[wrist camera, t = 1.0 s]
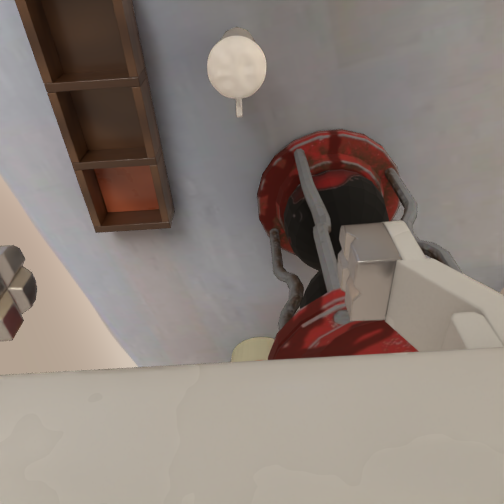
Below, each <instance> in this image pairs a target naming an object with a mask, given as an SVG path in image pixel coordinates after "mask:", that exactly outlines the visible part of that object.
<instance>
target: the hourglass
mask: <svg viewBox="0 0 504 504" xmlns="http://www.w3.org/2000/svg"><path fill="white" fill-rule="evenodd" d="M257 198H258V209H259V219H260V221H261V223H262V225H263V227H264V229H265V231H266V233H267V235H268V236H269V237H270V242H271V253H272V264H273V272H274V274H275V276H276V277H277V278H278V279H279V280H281V281H283V282H286V283H287V285H288V287H289V289H290V290H289V300H288V301H287V303H286V305H285V306H284V308H283V310H282V311H281V315H280V319H279V322H278V326H279V332H278V333H277V335H276V337H275V340H274V343H273V345H272V348H271V350H270V353H269V355H268V360H278V359H296V358H315V357H333V356H351V355H367V354H385V353H403V352H419V351H418V350H417V349H415V348H414V347H413V346H412V345H411V344H410V343H409V342H408V341H407V340H405V339H404V338H403V337H402V336H401V335H400V334H399V333H398V332H396V331H395V330H394V329H393V328H392V327H391V326H390V325H389V324H388V323H386V322H385V320H370V321H350V318H349V315H348V312H347V308H346V305H345V292H344V291H342V290H341V288H340V284H339V279H338V268H337V262H338V253H339V252H340V251H341V250H342V247H341V244H340V241H339V234H340V228H341V226H344V225H356V224H368V223H380V222H388V221H392V220H393V218H394V216H395V214H396V212H397V210H398V208H399V204H400V202H401V203H402V205H403V207H404V215H403V216H402V218H401V220H402V221H404V222H405V223H406V225H407V226H408V228H409V230H410V231H411V233H412V235H413V236H414V238H415V240H416V241H417V243H418V245H419V246H420V248H421V250H422V251H423V253H424V255H427V256H429V257H431V258H434V259H435V260H437V261H439V262H441V263H443V264H445V265H447V266H449V267H451V268H453V269H455V270H456V271H458V272H460V273H462V271H461V270H460V268H459V266H458V265H457V263H456V262H455V260H454V259H453V257H452V256H451V254H450V253H449V252H448V251H447V250H445V249H444V248H442V247H440V246H439V245H437V244H435V243H432V242H427V241H422V240H420V239H419V238H418V237H417V236H415V235H414V232H413V227H412V225H413V223H414V221H415V219H416V217H417V203H416V201H415V200H414V198H413V197H412V195H411V194H410V192H409V191H408V189H407V188H406V186H405V185H404V183H403V182H402V180H401V179H400V177H399V172H398V168H397V166H396V165H395V163H394V162H393V161H392V159H391V158H390V156H389V155H388V154H387V152H386V151H385V149H384V148H383V147H382V146H381V145H380V144H378V143H377V142H375V141H374V140H372V139H370V138H369V137H367V136H366V135H364V134H361V133H356V132H352V131H347V130H343V129H336V130H326V131H316V132H314V133H311V134H309V135H306V136H304V137H301V138H299V139H296V140H294V141H292V142H291V143H290V144H289V145H288V146H286V147H285V148H284V149H283V150H281V151H280V152H279V153H278V154H276V155H275V156H274V158H273V159H272V161H271V162H270V164H269V165H268V167H267V168H266V170H265V171H264V173H263V174H262V178H261V182H260V185H259V189H258V193H257ZM281 248H282V249H284V250H286V251H288V252H290V253H292V254H294V255H296V256H298V257H299V258H300V259H301V260H302V261H303V262H304V263H306V264H307V265H308V266H310V267H312V268H314V269H316V270H318V271H319V272H318V273H317V274H316V275H315V276H314V277H313V278H312V280H311V281H310V283H309V285H308V287H307V289H306V291H305V293H304V296H303V291H304V287H303V284H302V282H301V281H300V279H299V278H298V276H297V275H295V274H292V273H289V272H287V271H286V270H285V269H284V268H283V261H282V254H281ZM462 274H463V273H462ZM299 306H300V309H299V310H298V311H297V309H298V308H299ZM296 311H297V312H296Z"/></svg>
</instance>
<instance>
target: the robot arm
mask: <svg viewBox="0 0 504 504" xmlns="http://www.w3.org/2000/svg"><path fill="white" fill-rule="evenodd" d="M339 241H340V244H341V247H342V250H341V251H340V252H339V253H338V262H337V268H338V279H339V284H340V288H341V290H342V291H344V292H345V305H346V308H347V312H348V315H349V318H350V321H370V320H385V322H386V323H388V324H389V325H390V326H391V327H392V328H393V329H394V330H395V331H396V332H398V333H399V334H400V335H401V336H402V337H403V338H404V339H405V340H407V341H408V342H409V343H410V344H411V345H412V346H413V347H414V348H415V349H417V350H418V351H419V352H403V353H385V354H367V355H351V356H333V357H315V358H296V359H278V360H260V361H242V362H223V363H205V364H187V365H169V366H152V367H134V368H117V369H101V370H100V369H99V370H82V371H64V372H45V373H28V374H9V375H0V504H504V295H502V294H501V293H499V292H497V291H495V290H493V289H491V288H489V287H487V286H485V285H483V284H481V283H479V282H478V281H476V280H474V279H472V278H470V277H468V276H466V275H464V274H462V273H460V272H458V271H456V270H455V269H453V268H451V267H449V266H447V265H445V264H443V263H441V262H439V261H437V260H435V259H434V258H426V256H425V255H424V253H423V251H422V250H421V248H420V246H419V245H418V243H417V241H416V240H415V238H414V236H413V235H412V233H411V231H410V230H409V228H408V226H407V225H406V223H405V222H404V221H402V220H398V221H388V222H380V223H368V224H356V225H344V226H341V228H340V234H339ZM24 261H25V257H24V256H23V254H22V252H21V250H20V248H18V247H16V246H14V245H11V246H10V245H9V246H0V341H11V340H13V338H14V336H15V335H16V333H17V331H18V330H19V328H20V326H21V325H22V323H23V321H24V320H23V317H22V315H21V314H23V313H24V312H26V311H27V310H28V309H30V308H31V307H32V305H33V303H34V302H35V300H36V293H37V286H36V280H35V278H34V276H33V274H32V272H30V271H29V270H28V269H26V268H25V267H23V263H24Z"/></svg>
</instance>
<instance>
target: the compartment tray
mask: <svg viewBox="0 0 504 504" xmlns="http://www.w3.org/2000/svg"><path fill="white" fill-rule="evenodd" d="M15 2H16V5H17V8H18V11H19V14H20V17H21V19H22V22H23V25H24V28H25V31H26V34H27V37H28V40H29V42H30V45H31V48H32V51H33V54H34V57H35V60H36V62H37V65H38V68H39V71H40V74H41V77H42V80H43V83H45V84H44V85H45V88H46V90H47V92H48V96H49V99H50V102H51V105H52V108H53V111H54V114H55V116H56V119H57V122H58V125H59V128H60V131H61V134H62V137H63V139H64V142H65V145H66V148H67V151H68V154H69V157H70V159H71V162H72V165H73V168H74V171H75V174H76V177H77V180H78V183H79V186H80V188H81V191H82V194H83V197H84V200H85V203H86V206H87V208H88V211H89V214H90V217H91V220H92V223H93V226H94V229H95V231H96V233H97V232H113V231H130V230H146V229H162V228H171V224H172V220H173V216H174V212H175V211H174V206H173V201H172V196H171V191H170V186H169V181H168V176H167V171H166V166H165V161H164V156H163V152H162V147H161V142H160V137H159V132H158V127H157V122H156V117H155V112H154V107H153V102H152V97H151V92H150V87H149V82H148V77H147V72H146V67H145V62H144V58H143V53H142V48H141V43H140V38H139V33H138V28H137V23H136V18H135V13H134V8H133V3H132V0H15Z"/></svg>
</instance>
